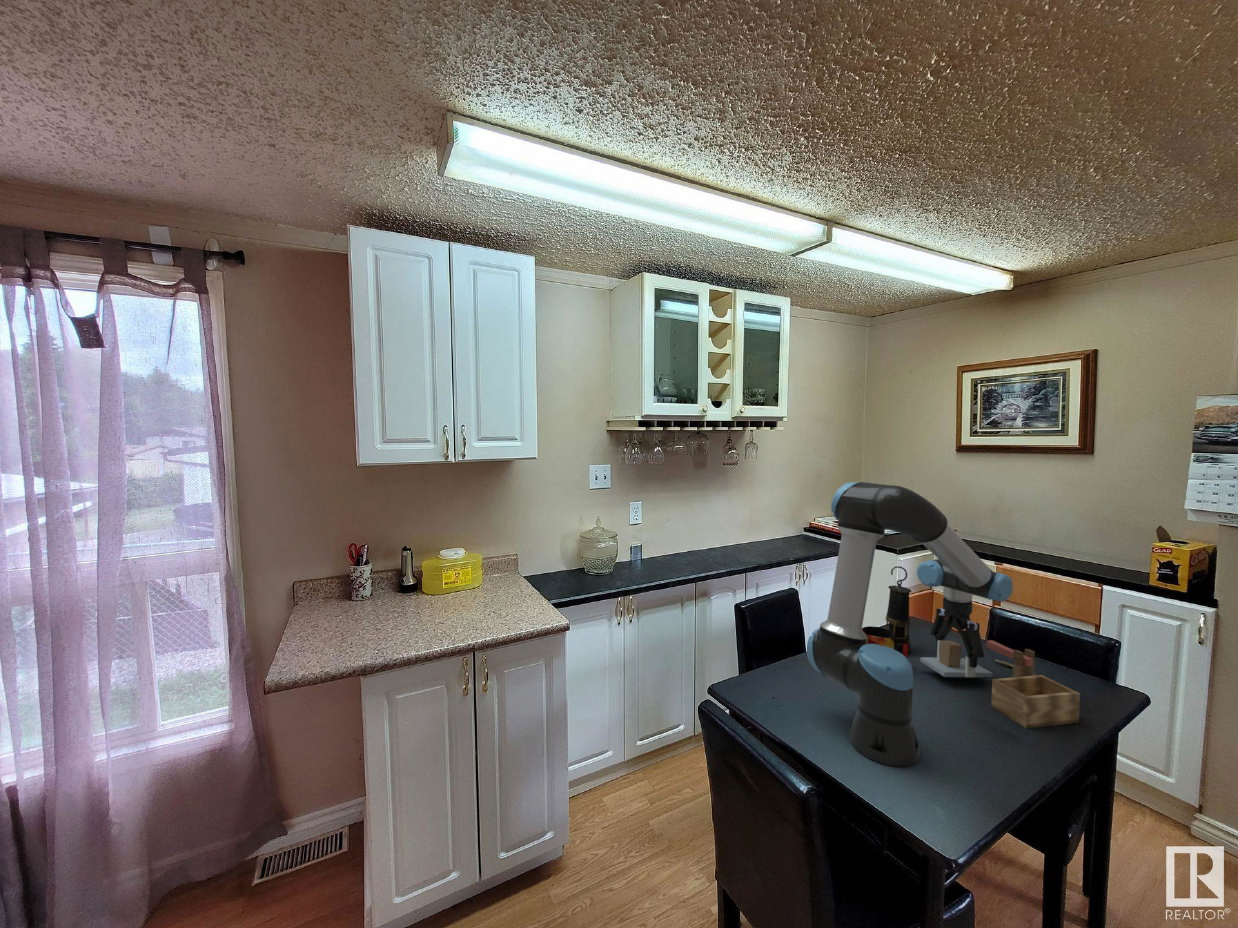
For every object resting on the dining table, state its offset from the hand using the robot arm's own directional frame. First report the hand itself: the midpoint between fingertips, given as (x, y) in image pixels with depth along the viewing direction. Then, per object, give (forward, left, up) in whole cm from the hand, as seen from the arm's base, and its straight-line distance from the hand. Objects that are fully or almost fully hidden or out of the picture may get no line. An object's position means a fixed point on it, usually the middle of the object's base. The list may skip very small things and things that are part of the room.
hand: (955, 667), depth 151 cm
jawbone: (+20, -3, -4) cm, 20 cm away
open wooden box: (+5, -21, -3) cm, 22 cm away
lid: (0, 0, 0) cm, 0 cm away
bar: (+11, -7, +6) cm, 15 cm away
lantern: (-4, +21, -3) cm, 22 cm away
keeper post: (+11, -12, -3) cm, 17 cm away
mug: (-18, +11, -3) cm, 21 cm away
